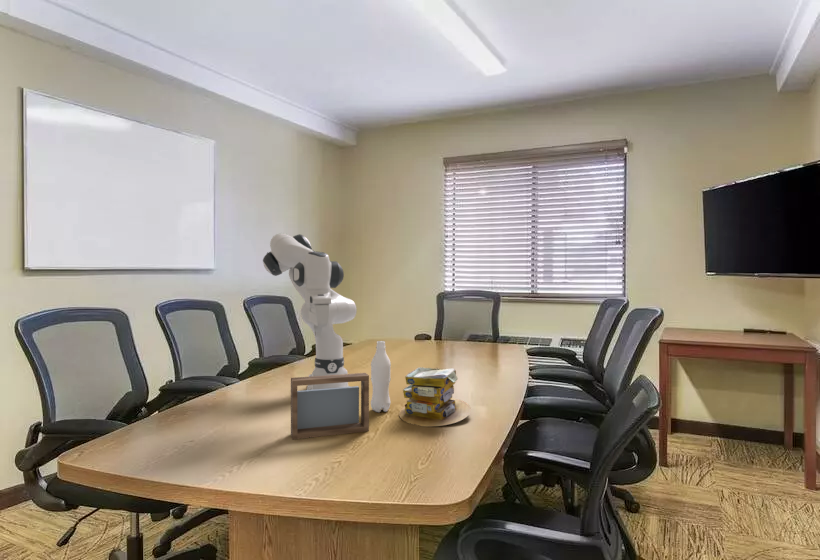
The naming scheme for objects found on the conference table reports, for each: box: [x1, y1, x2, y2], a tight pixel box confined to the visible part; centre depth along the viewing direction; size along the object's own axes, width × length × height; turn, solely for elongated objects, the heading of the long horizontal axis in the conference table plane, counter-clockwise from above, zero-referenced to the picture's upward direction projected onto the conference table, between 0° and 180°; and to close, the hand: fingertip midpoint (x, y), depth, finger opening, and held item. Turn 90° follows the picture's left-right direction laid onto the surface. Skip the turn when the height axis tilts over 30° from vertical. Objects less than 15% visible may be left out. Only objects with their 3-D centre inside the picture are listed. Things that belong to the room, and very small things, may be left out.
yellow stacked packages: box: [398, 367, 472, 427], centre depth 175 cm, size 25×25×17 cm
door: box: [297, 385, 360, 429], centre depth 159 cm, size 2×20×12 cm, turn 110°
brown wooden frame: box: [290, 372, 370, 440], centre depth 156 cm, size 4×24×18 cm, turn 110°
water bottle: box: [370, 340, 392, 413], centre depth 181 cm, size 7×7×25 cm
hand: (317, 336), depth 177 cm, fingers closed
